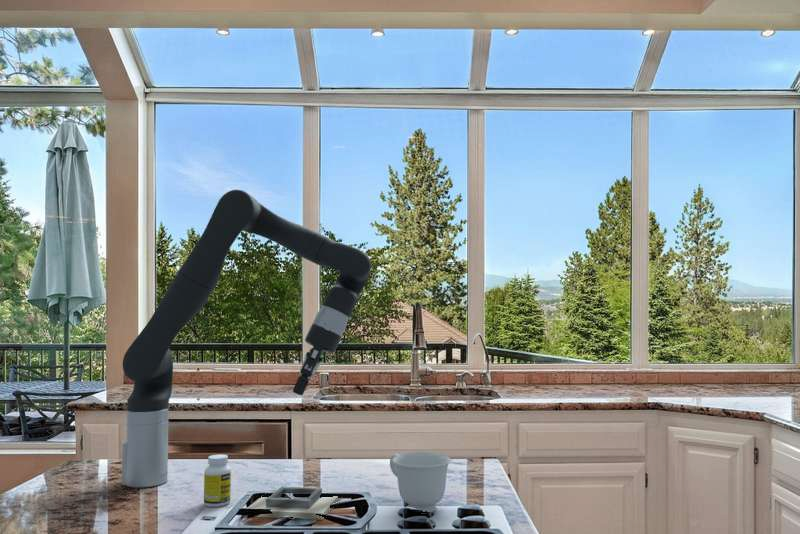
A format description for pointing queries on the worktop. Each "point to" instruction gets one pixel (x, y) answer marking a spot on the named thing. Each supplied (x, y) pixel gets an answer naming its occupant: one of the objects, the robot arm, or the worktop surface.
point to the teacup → (421, 478)
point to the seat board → (296, 503)
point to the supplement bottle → (217, 481)
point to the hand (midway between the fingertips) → (297, 393)
